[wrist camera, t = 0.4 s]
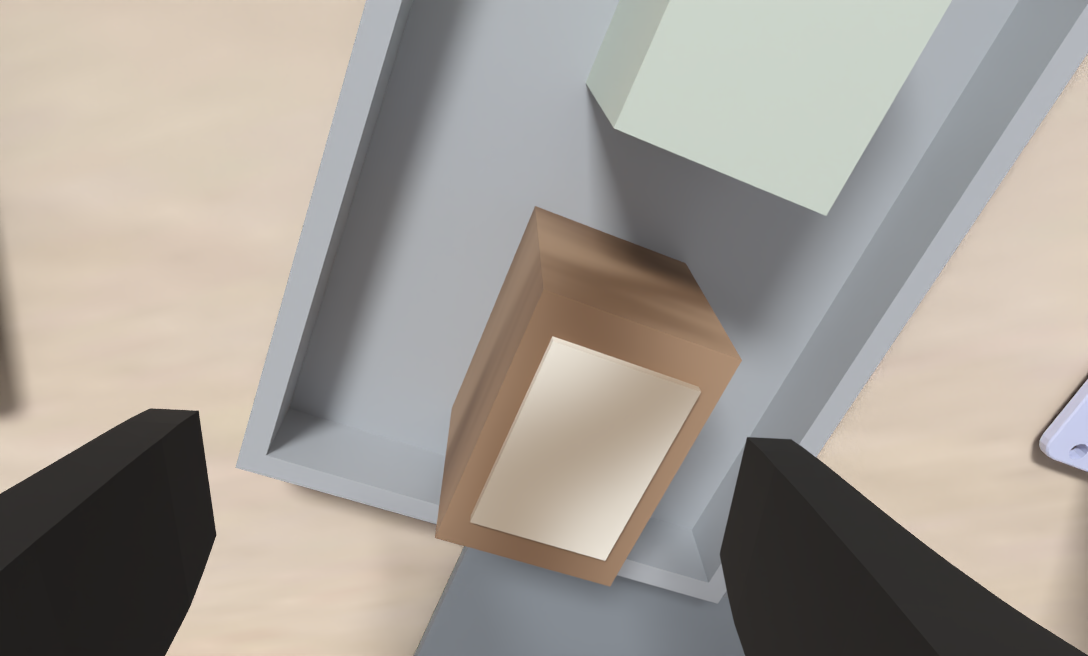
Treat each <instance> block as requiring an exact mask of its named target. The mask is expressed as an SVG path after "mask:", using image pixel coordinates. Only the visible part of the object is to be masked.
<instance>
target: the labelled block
mask: <svg viewBox="0 0 1088 656" xmlns="http://www.w3.org/2000/svg"><path fill="white" fill-rule="evenodd" d="M741 361H742V359H741V358H740V356H739V354H738V352H737V351H736V349H735V347H734V346H733V344H732V342H731V340H730V339H729V337H728V335H727V333H726V332H725V330H724V328H723V327H722V325H721V323H720V321H719V320H718V318H717V316H716V314H715V313H714V311H713V309H712V308H711V306H710V304H709V302H708V301H707V299H706V297H705V296H704V294H703V292H702V290H701V289H700V287H699V285H698V283H697V282H696V280H695V278H694V277H693V275H692V273H691V271H690V270H689V268H688V266H687V264H686V263H684V262H681V261H678V260H676V259H673V258H671V257H668V256H665V255H663V254H660V253H657V252H655V251H652V250H650V249H647V248H644V247H642V246H639V245H636V244H634V243H631V242H629V241H626V240H623V239H621V238H618V237H615V236H613V235H610V234H608V233H605V232H602V231H600V230H597V229H594V228H592V227H589V226H587V225H584V224H581V223H579V222H576V221H573V220H571V219H568V218H566V217H563V216H560V215H558V214H555V213H552V212H550V211H547V210H545V209H542V208H539V207H537V206H535V207H534V210H533V212H532V215H531V217H530V219H529V222H528V224H527V227H526V229H525V232H524V234H523V236H522V239H521V241H520V244H519V246H518V249H517V251H516V253H515V256H514V258H513V261H512V263H511V266H510V268H509V270H508V273H507V275H506V278H505V280H504V283H503V285H502V287H501V290H500V292H499V295H498V297H497V300H496V302H495V305H494V307H493V309H492V312H491V314H490V317H489V319H488V322H487V324H486V326H485V329H484V331H483V334H482V336H481V339H480V341H479V343H478V346H477V348H476V351H475V353H474V356H473V358H472V360H471V363H470V365H469V368H468V370H467V373H466V375H465V378H464V380H463V382H462V385H461V387H460V390H459V392H458V395H457V397H456V399H455V402H454V404H453V407H452V410H451V418H450V425H449V433H448V441H447V449H446V456H445V464H444V472H443V479H442V487H441V495H440V502H439V510H438V518H437V526H436V533H435V538H437V539H441V540H445V541H448V542H452V543H455V544H459V545H463V546H466V547H470V548H473V549H477V550H481V551H484V552H488V553H491V554H495V555H499V556H502V557H506V558H509V559H513V560H516V561H520V562H524V563H527V564H531V565H534V566H538V567H542V568H545V569H549V570H552V571H556V572H560V573H563V574H567V575H570V576H574V577H578V578H581V579H585V580H588V581H592V582H596V583H599V584H603V585H606V586H611V584H612V582H613V581H614V579H615V577H616V576H617V574H618V572H619V570H620V569H621V567H622V565H623V564H624V562H625V560H626V558H627V557H628V555H629V553H630V552H631V550H632V548H633V546H634V545H635V543H636V541H637V540H638V538H639V536H640V534H641V533H642V531H643V529H644V528H645V526H646V524H647V522H648V521H649V519H650V517H651V516H652V514H653V512H654V510H655V509H656V507H657V505H658V504H659V502H660V500H661V498H662V497H663V495H664V493H665V492H666V490H667V488H668V486H669V485H670V483H671V481H672V480H673V478H674V476H675V474H676V473H677V471H678V469H679V468H680V466H681V464H682V462H683V461H684V459H685V457H686V456H687V454H688V452H689V450H690V449H691V447H692V445H693V444H694V442H695V440H696V438H697V437H698V435H699V433H700V432H701V430H702V428H703V426H704V425H705V423H706V421H707V420H708V418H709V416H710V414H711V413H712V411H713V409H714V408H715V406H716V404H717V402H718V401H719V399H720V397H721V396H722V394H723V392H724V390H725V389H726V387H727V385H728V384H729V382H730V380H731V378H732V377H733V375H734V373H735V372H736V370H737V368H738V366H739V365H740V363H741Z"/></svg>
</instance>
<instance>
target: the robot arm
mask: <svg viewBox="0 0 1088 656" xmlns="http://www.w3.org/2000/svg"><path fill="white" fill-rule="evenodd" d="M1076 445H1077V446H1076ZM1074 446H1076V447H1075V448H1074V449H1073V450H1071V449H1072V448H1073V447H1074ZM1039 447H1040V449H1041V451H1043V452H1044V453H1045V454H1046V455H1047V456H1048V457H1050V458H1051V459H1053V460H1056V461H1058V462H1061V463H1064V464H1067V465H1069V466H1072V467H1075V468H1078V469H1080V470H1083V471H1086V472H1088V379H1087V381H1086V382H1085V383H1084V384H1083V385H1082V387H1081V388H1080V389H1079V390H1078V392H1077V393H1076V394H1075V395H1074V397H1073V398H1072V399H1071V400H1070V401H1069V403H1068V404H1067V405H1066V406H1065V408H1064V409H1063V410H1062V411H1061V412H1060V414H1059V415H1058V416H1057V417H1056V419H1055V420H1054V421H1053V422H1052V424H1051V425H1050V426H1049V427H1048V428H1047V430H1046V431H1045V432H1044V433H1043V435H1042V437H1041V438H1040V441H1039ZM215 537H216V530H215V523H214V516H213V509H212V502H211V495H210V488H209V481H208V474H207V467H206V460H205V453H204V446H203V439H202V432H201V425H200V418H199V411H190V410H169V409H148V410H146V411H144V412H142V413H140V414H138V415H136V416H134V417H132V418H130V419H128V420H127V421H125V422H123V423H121V424H119V425H118V426H116V427H114V428H112V429H111V430H109V431H107V432H105V433H104V434H102V435H100V436H98V437H97V438H95V439H93V440H92V441H90V442H88V443H87V444H85V445H83V446H81V447H80V448H78V449H76V450H75V451H73V452H71V453H70V454H68V455H66V456H65V457H63V458H61V459H59V460H58V461H56V462H54V463H53V464H51V465H49V466H47V467H46V468H44V469H42V470H40V471H39V472H37V473H35V474H34V475H32V476H30V477H28V478H27V479H25V480H23V481H22V482H20V483H18V484H16V485H15V486H13V487H11V488H10V489H8V490H6V491H4V492H3V493H1V494H0V656H165V655H166V653H167V651H168V649H169V647H170V645H171V643H172V641H173V639H174V637H175V635H176V633H177V632H178V630H179V628H180V626H181V624H182V622H183V620H184V618H185V616H186V614H187V612H188V610H189V608H190V606H191V603H192V600H193V598H194V595H195V593H196V590H197V587H198V585H199V582H200V580H201V577H202V574H203V572H204V569H205V566H206V563H207V560H208V557H209V555H210V552H211V549H212V546H213V543H214V540H215ZM720 559H721V564H722V569H723V574H724V579H725V584H726V589H727V594H728V599H729V603H730V607H731V612H732V616H733V620H734V624H735V627H736V630H737V633H738V636H739V639H740V642H741V645H742V648H743V651H744V654H745V656H1088V655H1086V654H1085V653H1083V652H1082V651H1080V650H1078V649H1077V648H1075V647H1074V646H1072V645H1070V644H1069V643H1067V642H1066V641H1064V640H1063V639H1061V638H1059V637H1058V636H1056V635H1055V634H1053V633H1051V632H1050V631H1048V630H1047V629H1045V628H1043V627H1042V626H1040V625H1039V624H1037V623H1036V622H1034V621H1032V620H1031V619H1029V618H1028V617H1026V616H1025V615H1023V614H1022V613H1020V612H1019V611H1017V610H1016V609H1014V608H1013V607H1011V606H1010V605H1008V604H1007V603H1005V602H1004V601H1002V600H1001V599H1000V598H998V597H997V596H995V595H994V594H992V593H991V592H990V591H988V590H987V589H986V588H984V587H983V586H981V585H980V584H979V583H977V582H976V581H974V580H973V579H972V578H970V577H969V576H967V575H966V574H965V573H963V572H962V571H960V570H959V569H958V568H956V567H955V566H953V565H952V564H951V563H949V562H948V561H947V560H945V559H944V558H943V557H941V556H940V555H939V554H937V553H936V552H935V551H933V550H932V549H931V548H929V547H928V546H927V545H925V544H924V543H923V542H921V541H920V540H919V539H918V538H916V537H915V536H914V535H912V534H911V533H910V532H909V531H907V530H906V529H905V528H903V527H902V526H901V525H900V524H898V523H897V522H896V521H895V520H893V519H892V518H891V517H889V516H888V515H887V514H886V513H884V512H883V511H882V510H881V509H880V508H878V507H877V506H876V505H875V504H873V503H872V502H871V501H870V500H868V499H867V498H866V497H865V496H863V495H862V494H861V493H860V492H858V491H857V490H856V489H855V488H854V487H852V486H851V485H850V484H849V483H847V482H846V481H845V480H844V479H842V478H841V477H840V476H839V475H838V474H836V473H835V472H834V471H833V470H831V469H830V468H829V467H828V466H826V465H825V464H824V463H823V462H821V461H820V460H819V459H818V458H816V457H815V456H814V455H812V454H811V453H810V452H808V451H807V450H806V449H804V448H803V447H802V446H800V445H799V444H798V443H796V442H795V441H793V440H792V439H778V438H757V437H747V439H746V443H745V447H744V452H743V456H742V460H741V464H740V469H739V473H738V477H737V482H736V486H735V490H734V494H733V499H732V503H731V507H730V511H729V516H728V520H727V524H726V528H725V533H724V537H723V541H722V545H721V550H720Z"/></svg>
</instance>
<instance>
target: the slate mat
mask: <svg viewBox="0 0 1088 656" xmlns="http://www.w3.org/2000/svg"><path fill="white" fill-rule="evenodd" d="M414 656H745V654H744V651H743V648H742V645H741V642H740V639H739V636H738V633H737V630H736V627H735V624H734V620H733V616H732V612H731V607H730V603H729V599H728V594H727V591H726V592H725V594H724V595H723V597H722V598H721V600H720V601H719V603H718V604H717V603H714V602H710V601H707V600H703V599H700V598H696V597H692V596H689V595H685V594H682V593H678V592H675V591H671V590H668V589H664V588H661V587H657V586H653V585H650V584H646V583H643V582H639V581H636V580H632V579H629V578H625V577H622V576H618V575H617V576H616V577H615V579H614V581H613V582H612V584H611V586H606V585H603V584H599V583H596V582H592V581H588V580H585V579H581V578H578V577H574V576H570V575H567V574H563V573H560V572H556V571H552V570H549V569H545V568H542V567H538V566H534V565H531V564H527V563H524V562H520V561H516V560H513V559H509V558H506V557H502V556H499V555H495V554H491V553H488V552H484V551H481V550H477V549H473V548H470V547H466V546H464V548H463V550H462V552H461V554H460V557H459V559H458V561H457V563H456V565H455V567H454V570H453V572H452V574H451V576H450V578H449V580H448V583H447V585H446V587H445V589H444V591H443V593H442V596H441V598H440V600H439V602H438V604H437V606H436V609H435V611H434V613H433V615H432V617H431V619H430V622H429V624H428V626H427V628H426V630H425V632H424V635H423V637H422V639H421V641H420V643H419V646H418V648H417V650H416V652H415V654H414Z"/></svg>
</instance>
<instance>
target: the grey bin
mask: <svg viewBox="0 0 1088 656" xmlns="http://www.w3.org/2000/svg"><path fill="white" fill-rule="evenodd" d="M618 3H619V0H366V3H365V7H364V10H363V14H362V18H361V21H360V25H359V28H358V32H357V35H356V39H355V43H354V46H353V50H352V53H351V57H350V60H349V64H348V68H347V71H346V75H345V78H344V82H343V85H342V89H341V93H340V96H339V100H338V103H337V107H336V110H335V114H334V118H333V121H332V125H331V128H330V132H329V135H328V139H327V143H326V146H325V150H324V153H323V157H322V160H321V164H320V168H319V171H318V175H317V178H316V182H315V185H314V189H313V193H312V196H311V200H310V203H309V207H308V210H307V214H306V218H305V221H304V225H303V228H302V232H301V235H300V239H299V243H298V246H297V250H296V253H295V257H294V260H293V264H292V268H291V271H290V275H289V278H288V282H287V286H286V289H285V293H284V296H283V300H282V303H281V307H280V311H279V314H278V318H277V321H276V325H275V328H274V332H273V336H272V339H271V343H270V346H269V350H268V353H267V357H266V361H265V364H264V368H263V371H262V375H261V378H260V382H259V386H258V389H257V393H256V396H255V400H254V403H253V407H252V411H251V414H250V418H249V421H248V425H247V428H246V432H245V436H244V439H243V443H242V446H241V450H240V453H239V457H238V461H237V464H236V468H239V469H242V470H246V471H249V472H253V473H257V474H260V475H264V476H267V477H271V478H274V479H278V480H281V481H285V482H288V483H292V484H296V485H299V486H303V487H306V488H310V489H313V490H317V491H320V492H324V493H327V494H331V495H334V496H338V497H342V498H345V499H349V500H352V501H356V502H359V503H363V504H366V505H370V506H373V507H377V508H381V509H384V510H388V511H391V512H395V513H398V514H402V515H405V516H409V517H412V518H416V519H420V520H423V521H427V522H430V523H434V524H437V518H438V510H439V502H440V495H441V487H442V479H443V472H444V464H445V456H446V449H447V441H448V433H449V425H450V418H451V410H452V407H453V404H454V402H455V399H456V397H457V395H458V392H459V390H460V387H461V385H462V382H463V380H464V378H465V375H466V373H467V370H468V368H469V365H470V363H471V360H472V358H473V356H474V353H475V351H476V348H477V346H478V343H479V341H480V339H481V336H482V334H483V331H484V329H485V326H486V324H487V322H488V319H489V317H490V314H491V312H492V309H493V307H494V305H495V302H496V300H497V297H498V295H499V292H500V290H501V287H502V285H503V283H504V280H505V278H506V275H507V273H508V270H509V268H510V266H511V263H512V261H513V258H514V256H515V253H516V251H517V249H518V246H519V244H520V241H521V239H522V236H523V234H524V232H525V229H526V227H527V224H528V222H529V219H530V217H531V215H532V212H533V210H534V207H535V206H537V207H539V208H542V209H545V210H547V211H550V212H552V213H555V214H558V215H560V216H563V217H566V218H568V219H571V220H573V221H576V222H579V223H581V224H584V225H587V226H589V227H592V228H594V229H597V230H600V231H602V232H605V233H608V234H610V235H613V236H615V237H618V238H621V239H623V240H626V241H629V242H631V243H634V244H636V245H639V246H642V247H644V248H647V249H650V250H652V251H655V252H657V253H660V254H663V255H665V256H668V257H671V258H673V259H676V260H678V261H681V262H684V263H686V264H687V266H688V268H689V270H690V271H691V273H692V275H693V277H694V278H695V280H696V282H697V283H698V285H699V287H700V289H701V290H702V292H703V294H704V296H705V297H706V299H707V301H708V302H709V304H710V306H711V308H712V309H713V311H714V313H715V314H716V316H717V318H718V320H719V321H720V323H721V325H722V327H723V328H724V330H725V332H726V333H727V335H728V337H729V339H730V340H731V342H732V344H733V346H734V347H735V349H736V351H737V352H738V354H739V356H740V358H741V359H742V361H741V363H740V365H739V366H738V368H737V370H736V372H735V373H734V375H733V377H732V378H731V380H730V382H729V384H728V385H727V387H726V389H725V390H724V392H723V394H722V396H721V397H720V399H719V401H718V402H717V404H716V406H715V408H714V409H713V411H712V413H711V414H710V416H709V418H708V420H707V421H706V423H705V425H704V426H703V428H702V430H701V432H700V433H699V435H698V437H697V438H696V440H695V442H694V444H693V445H692V447H691V449H690V450H689V452H688V454H687V456H686V457H685V459H684V461H683V462H682V464H681V466H680V468H679V469H678V471H677V473H676V474H675V476H674V478H673V480H672V481H671V483H670V485H669V486H668V488H667V490H666V492H665V493H664V495H663V497H662V498H661V500H660V502H659V504H658V505H657V507H656V509H655V510H654V512H653V514H652V516H651V517H650V519H649V521H648V522H647V524H646V526H645V528H644V529H643V531H642V533H641V534H640V536H639V538H638V540H637V541H636V543H635V545H634V546H633V548H632V550H631V552H630V553H629V555H628V557H627V558H626V560H625V562H624V564H623V565H622V567H621V569H620V570H619V572H618V574H617V575H618V576H622V577H625V578H629V579H632V580H636V581H639V582H643V583H646V584H650V585H653V586H657V587H661V588H664V589H668V590H671V591H675V592H678V593H682V594H685V595H689V596H692V597H696V598H700V599H703V600H707V601H710V602H714V603H717V604H718V603H719V601H720V600H721V598H722V597H723V595H724V594H725V592H726V591H727V589H726V584H725V579H724V574H723V569H722V564H721V559H720V550H721V545H722V541H723V537H724V533H725V528H726V524H727V520H728V516H729V511H730V507H731V503H732V499H733V494H734V490H735V486H736V482H737V477H738V473H739V469H740V464H741V460H742V456H743V452H744V447H745V443H746V439H747V437H757V438H778V439H792V440H793V441H795V442H796V443H798V444H799V445H800V446H802V447H803V448H804V449H806V450H807V451H808V452H810V453H811V454H812V455H814V456H815V457H817V455H818V454H819V452H820V451H821V449H822V448H823V446H824V445H825V443H826V442H827V440H828V439H829V437H830V436H831V434H832V433H833V431H834V430H835V428H836V427H837V425H838V424H839V422H840V421H841V419H842V418H843V417H844V415H845V414H846V412H847V411H848V409H849V408H850V406H851V405H852V403H853V402H854V400H855V399H856V397H857V396H858V394H859V393H860V391H861V390H862V388H863V387H864V385H865V384H866V382H867V381H868V379H869V378H870V376H871V375H872V373H873V372H874V370H875V369H876V367H877V366H878V364H879V363H880V361H881V360H882V358H883V357H884V356H885V354H886V353H887V351H888V350H889V348H890V347H891V345H892V344H893V342H894V341H895V339H896V338H897V336H898V335H899V333H900V332H901V330H902V329H903V327H904V326H905V324H906V323H907V321H908V320H909V318H910V317H911V315H912V314H913V312H914V311H915V309H916V308H917V306H918V305H919V303H920V302H921V300H922V299H923V297H924V296H925V294H926V293H927V292H928V290H929V289H930V287H931V286H932V284H933V283H934V281H935V280H936V278H937V277H938V275H939V274H940V272H941V271H942V269H943V268H944V266H945V265H946V263H947V262H948V260H949V259H950V257H951V256H952V254H953V253H954V251H955V250H956V248H957V247H958V245H959V244H960V242H961V241H962V239H963V238H964V236H965V235H966V233H967V232H968V231H969V229H970V228H971V226H972V225H973V223H974V222H975V220H976V219H977V217H978V216H979V214H980V213H981V211H982V210H983V208H984V207H985V205H986V204H987V202H988V201H989V199H990V198H991V196H992V195H993V193H994V192H995V190H996V189H997V187H998V186H999V184H1000V183H1001V181H1002V180H1003V178H1004V177H1005V175H1006V174H1007V172H1008V171H1009V169H1010V168H1011V167H1012V165H1013V164H1014V162H1015V161H1016V159H1017V158H1018V156H1019V155H1020V153H1021V152H1022V150H1023V149H1024V147H1025V146H1026V144H1027V143H1028V141H1029V140H1030V138H1031V137H1032V135H1033V134H1034V132H1035V131H1036V129H1037V128H1038V126H1039V125H1040V123H1041V122H1042V120H1043V119H1044V117H1045V116H1046V114H1047V113H1048V111H1049V110H1050V108H1051V107H1052V106H1053V104H1054V103H1055V101H1056V100H1057V98H1058V97H1059V95H1060V94H1061V92H1062V91H1063V89H1064V88H1065V86H1066V85H1067V83H1068V82H1069V80H1070V79H1071V77H1072V76H1073V74H1074V73H1075V71H1076V70H1077V68H1078V67H1079V65H1080V64H1081V62H1082V61H1083V59H1084V58H1085V56H1086V55H1087V53H1088V0H952V1H951V3H950V5H949V6H948V8H947V10H946V12H945V13H944V15H943V17H942V18H941V20H940V22H939V24H938V25H937V27H936V29H935V30H934V32H933V34H932V36H931V37H930V39H929V41H928V42H927V44H926V46H925V48H924V49H923V51H922V53H921V54H920V56H919V58H918V60H917V61H916V63H915V65H914V66H913V68H912V70H911V72H910V73H909V75H908V77H907V78H906V80H905V82H904V84H903V85H902V87H901V89H900V90H899V92H898V94H897V96H896V97H895V99H894V101H893V102H892V104H891V106H890V108H889V109H888V111H887V113H886V114H885V116H884V118H883V120H882V121H881V123H880V125H879V126H878V128H877V130H876V132H875V133H874V135H873V137H872V138H871V140H870V142H869V144H868V145H867V147H866V149H865V150H864V152H863V154H862V156H861V157H860V159H859V161H858V162H857V164H856V166H855V168H854V169H853V171H852V173H851V174H850V176H849V178H848V180H847V181H846V183H845V185H844V186H843V188H842V190H841V192H840V193H839V195H838V197H837V198H836V200H835V202H834V204H833V205H832V207H831V209H830V210H829V212H828V214H827V216H825V215H823V214H820V213H818V212H815V211H813V210H811V209H808V208H806V207H803V206H801V205H798V204H796V203H794V202H791V201H789V200H786V199H784V198H782V197H779V196H777V195H774V194H772V193H769V192H767V191H765V190H762V189H760V188H757V187H755V186H752V185H750V184H748V183H745V182H743V181H740V180H738V179H735V178H733V177H731V176H728V175H726V174H723V173H721V172H718V171H716V170H714V169H711V168H709V167H706V166H704V165H702V164H699V163H697V162H694V161H692V160H689V159H687V158H685V157H682V156H680V155H677V154H675V153H672V152H670V151H668V150H665V149H663V148H660V147H658V146H655V145H653V144H651V143H648V142H646V141H643V140H641V139H638V138H636V137H634V136H631V135H629V134H626V133H624V132H621V131H619V130H617V129H614V128H613V126H612V125H611V123H610V121H609V120H608V118H607V116H606V115H605V113H604V112H603V110H602V108H601V107H600V105H599V103H598V102H597V100H596V99H595V97H594V95H593V94H592V92H591V91H590V89H589V87H588V86H587V84H586V81H587V78H588V76H589V73H590V71H591V69H592V66H593V64H594V61H595V59H596V56H597V54H598V52H599V49H600V47H601V44H602V42H603V39H604V37H605V34H606V32H607V30H608V27H609V25H610V22H611V20H612V17H613V15H614V13H615V10H616V8H617V5H618Z"/></svg>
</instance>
